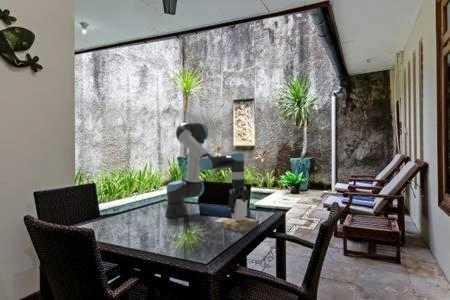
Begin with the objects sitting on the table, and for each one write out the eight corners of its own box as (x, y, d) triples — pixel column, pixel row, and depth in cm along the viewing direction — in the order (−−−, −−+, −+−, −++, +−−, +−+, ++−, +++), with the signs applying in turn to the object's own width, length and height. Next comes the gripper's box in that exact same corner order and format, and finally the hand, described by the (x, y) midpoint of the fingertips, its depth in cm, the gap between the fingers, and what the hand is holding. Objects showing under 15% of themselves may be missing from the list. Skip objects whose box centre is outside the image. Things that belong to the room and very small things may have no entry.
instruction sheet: (214, 221, 189) (214, 220, 189) (222, 218, 196) (222, 217, 196) (230, 223, 182) (230, 223, 182) (238, 220, 189) (238, 219, 189)
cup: (247, 222, 170) (246, 202, 170) (230, 221, 172) (229, 202, 172) (249, 217, 180) (248, 199, 179) (233, 217, 182) (232, 199, 181)
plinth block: (220, 227, 176) (220, 221, 176) (239, 221, 187) (238, 216, 187) (241, 232, 164) (241, 226, 164) (259, 225, 176) (259, 220, 176)
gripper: (229, 181, 165) (231, 222, 165) (254, 177, 180) (256, 214, 181) (220, 180, 170) (221, 220, 171) (245, 176, 185) (246, 212, 186)
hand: (239, 217), depth 176 cm, fingers closed on cup, 9 cm apart
